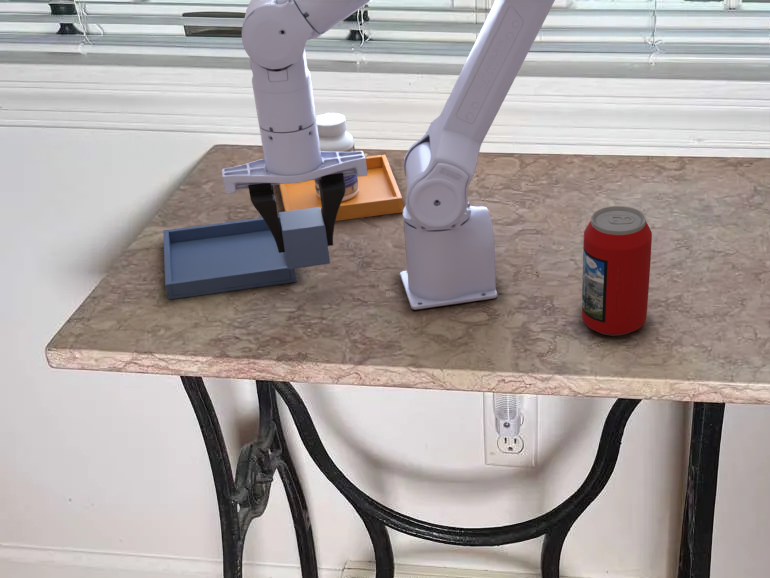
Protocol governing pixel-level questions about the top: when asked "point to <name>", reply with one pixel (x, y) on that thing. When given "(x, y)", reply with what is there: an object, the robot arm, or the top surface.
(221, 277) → the blue tray
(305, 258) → the blue block
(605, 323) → the beverage can
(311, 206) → the amber tray
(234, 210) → the top surface
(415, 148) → the robot arm
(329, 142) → the pill bottle
